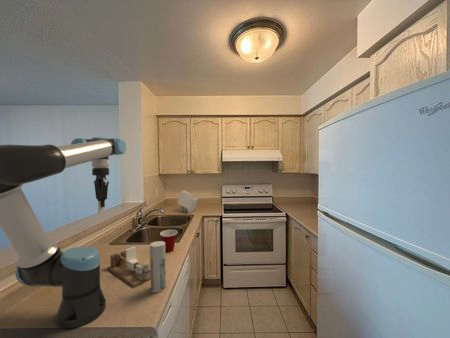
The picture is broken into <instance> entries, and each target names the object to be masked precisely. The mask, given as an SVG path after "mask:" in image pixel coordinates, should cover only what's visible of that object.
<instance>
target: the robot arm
mask: <svg viewBox="0 0 450 338" xmlns="http://www.w3.org/2000/svg"><path fill="white" fill-rule="evenodd" d="M126 150H127V146H126V142H125V140H124V139H123V138H120V137H119V138H117V137H114V138H106V137H100V136H99V137H98V136H95V137H91V138H83V137H81V138H79V137H78V138H74V139H73V140H72V141H71V143H70V144H65V145H59V146H57V145H55V144H42V145H40V144H39V145H33V144H31V145H29V144H27V145H26V144H0V229H1V231H3V233H4V236H5V237H6V238H7V240H8V242H9V243H10V244H11V246H12V247H13V248H14V250H15V251H16V253H17V255H18V256H19V257H18V258H17V261H16V264H17V265H16V266H15V268H16V270H15V271H14V274H15V278H16V280H17V281H18V282H19V284H21V285H24V286H28V287H29V286H30V287H52V288H53V287H57V288H59V287H60V288H61V294H62V295H61V300H60V304H59V307H58V310H57V313H56V317H55V320H56V321H55V323H56V325H57V327H58V328H60V329H74V328H78V327H82V326H85V325H87V324H89V323H91V322H93V321H94V320H96V319H97V318H98V317H100V316H101V315H102V314H103V313H104V311H105V310H106V307H107V302H106V301H107V300H106V297H105V295H104V292H103V290H102V288H101V270H100V269H101V266H100V265H101V258H100V252H99V250H98V249H96V248H95V247H92V246H79V247H78V246H76V247H71V248H68V249H66V250H65V251H62V250H61V248H60V247H59V245H58V242H56V241H50V239H49V237H48V236H47V233H46V232H45V230H44V228H43V227H42V225H41V223H40V221H39V219H38V217H37V215H36V214H35V212H34V209H33V208H32V206H31V205H30V202H29V200H28V198H27V197H26V195H25V194H24V191H23V190H22V187H23V185H24V184H29V183H32V182H37V181H39V180H42V179H46V178H49V177H51V176H55V175H58V174H61V173H63V172H64V171H65V169H68V168H70V167H71V168H72V167H75V166H79V165H81V164H85V163H89V162H91V168H92V169H91V171H92V173H91V174H92V176H95V180H94V181H93V185H94V193H95V199H96V200H97V211H98V213H97V214H104V213H106V200H107V199H108V189H109V183H110V182H109V181H108V180H107V177H106V176H109V175H110V169H109V168H110V167H109V166H110V161H109V160H110V159H109V157H110V156H118V155H123V154H125V152H126Z"/></svg>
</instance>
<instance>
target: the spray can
mask: <svg viewBox="0 0 450 338" xmlns="http://www.w3.org/2000/svg"><path fill="white" fill-rule="evenodd" d="M149 260H150V261H149V263H150V265H149V270H151V280H150V291H151V292H152V293H153V294H154V293H155V294H156V293H157V294H158V293H162V292H163V291H165V290H166V287H167V283H166V282H167V276H166V275H167V272H166V271H167V270H166V268H167V267H166V265H167V264H166V252H165V242H163V241H162V240H160V241H159V240H158V241H153V242H151V243H150V244H149Z"/></svg>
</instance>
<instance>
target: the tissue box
mask: <svg viewBox="0 0 450 338" xmlns="http://www.w3.org/2000/svg"><path fill="white" fill-rule="evenodd" d="M177 200H178V201H177V205H179V206H181V207H180V209H181V210H182V212H183V213H185V212H186V213H187V214H191V213H193V212H194V210H195V209H196V207H197V204H198V200H199V197H197V196H195V195H192V194H191V193H190V192H188V191H187V190H185V189H183V190H181V191H180V194H179V197H178V199H177Z"/></svg>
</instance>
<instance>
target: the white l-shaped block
mask: <svg viewBox="0 0 450 338" xmlns="http://www.w3.org/2000/svg"><path fill="white" fill-rule="evenodd" d="M125 251H126V262H127V268H129V269H130V270H132V271H133V270H136V268H135V267H134V264H140V260H138V259H137V246H136V245H135V246H132V247H129V248H126V249H125Z"/></svg>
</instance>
